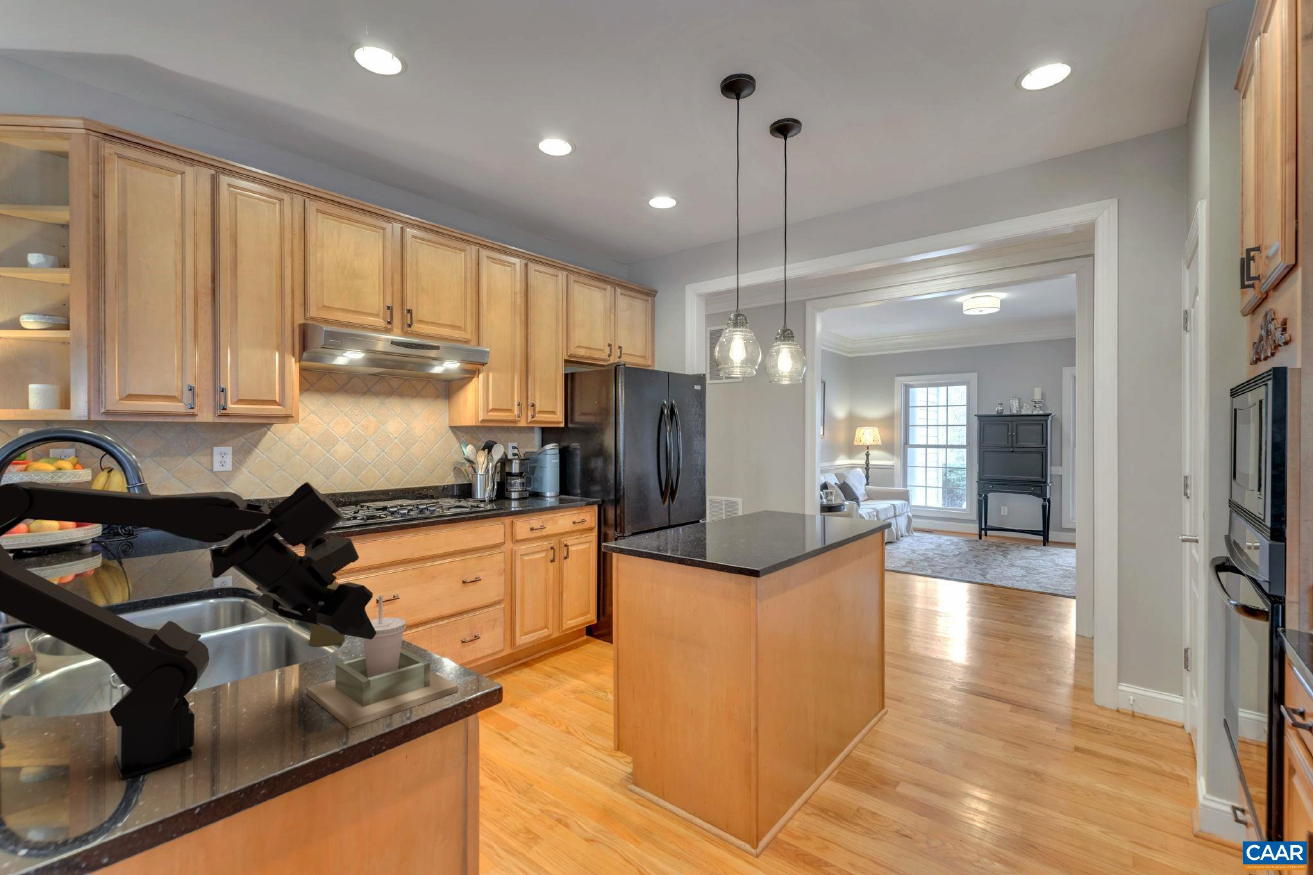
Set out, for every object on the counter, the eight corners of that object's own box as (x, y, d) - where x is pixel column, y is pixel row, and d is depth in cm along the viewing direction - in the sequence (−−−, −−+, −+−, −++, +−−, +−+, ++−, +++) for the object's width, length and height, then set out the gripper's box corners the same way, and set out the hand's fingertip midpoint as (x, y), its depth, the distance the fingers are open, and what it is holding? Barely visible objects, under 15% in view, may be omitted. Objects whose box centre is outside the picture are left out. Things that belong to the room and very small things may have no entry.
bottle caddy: (349, 728, 80) (349, 694, 80) (306, 693, 91) (306, 664, 91) (458, 691, 92) (458, 662, 92) (409, 664, 103) (409, 638, 103)
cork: (333, 647, 111) (334, 587, 111) (301, 646, 112) (302, 587, 112) (351, 636, 117) (351, 580, 117) (320, 635, 118) (321, 579, 118)
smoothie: (349, 692, 89) (350, 598, 89) (381, 676, 95) (382, 588, 95) (383, 698, 87) (384, 602, 87) (414, 681, 93) (415, 591, 93)
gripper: (360, 526, 79) (429, 592, 88) (284, 515, 88) (354, 576, 98) (297, 599, 72) (379, 663, 81) (222, 578, 81) (304, 637, 91)
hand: (354, 630), depth 88 cm, fingers open, 9 cm apart
